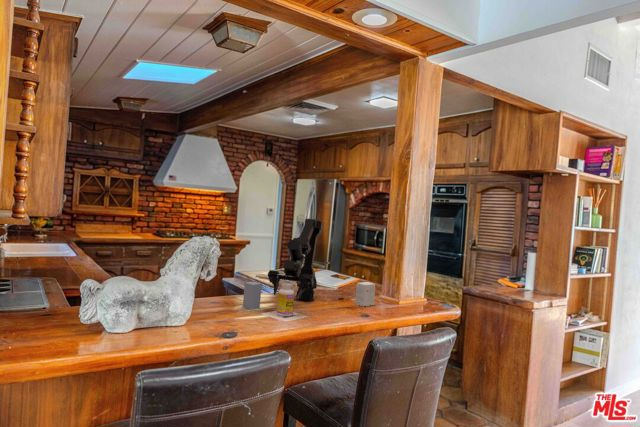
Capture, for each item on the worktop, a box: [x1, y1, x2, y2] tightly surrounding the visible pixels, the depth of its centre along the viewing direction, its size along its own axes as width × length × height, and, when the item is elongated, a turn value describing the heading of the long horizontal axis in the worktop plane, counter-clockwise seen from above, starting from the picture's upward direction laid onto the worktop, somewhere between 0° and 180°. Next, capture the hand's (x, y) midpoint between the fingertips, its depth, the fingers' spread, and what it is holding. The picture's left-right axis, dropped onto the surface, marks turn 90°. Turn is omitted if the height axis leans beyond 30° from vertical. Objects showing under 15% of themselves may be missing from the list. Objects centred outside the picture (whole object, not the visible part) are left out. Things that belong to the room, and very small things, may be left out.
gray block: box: [242, 281, 263, 311], centre depth 179 cm, size 5×5×11 cm
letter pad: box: [260, 309, 310, 323], centre depth 172 cm, size 14×14×1 cm
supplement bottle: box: [276, 281, 296, 317], centre depth 172 cm, size 7×7×13 cm
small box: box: [354, 281, 376, 308], centre depth 206 cm, size 8×6×10 cm
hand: (285, 295), depth 171 cm, fingers open, 9 cm apart
